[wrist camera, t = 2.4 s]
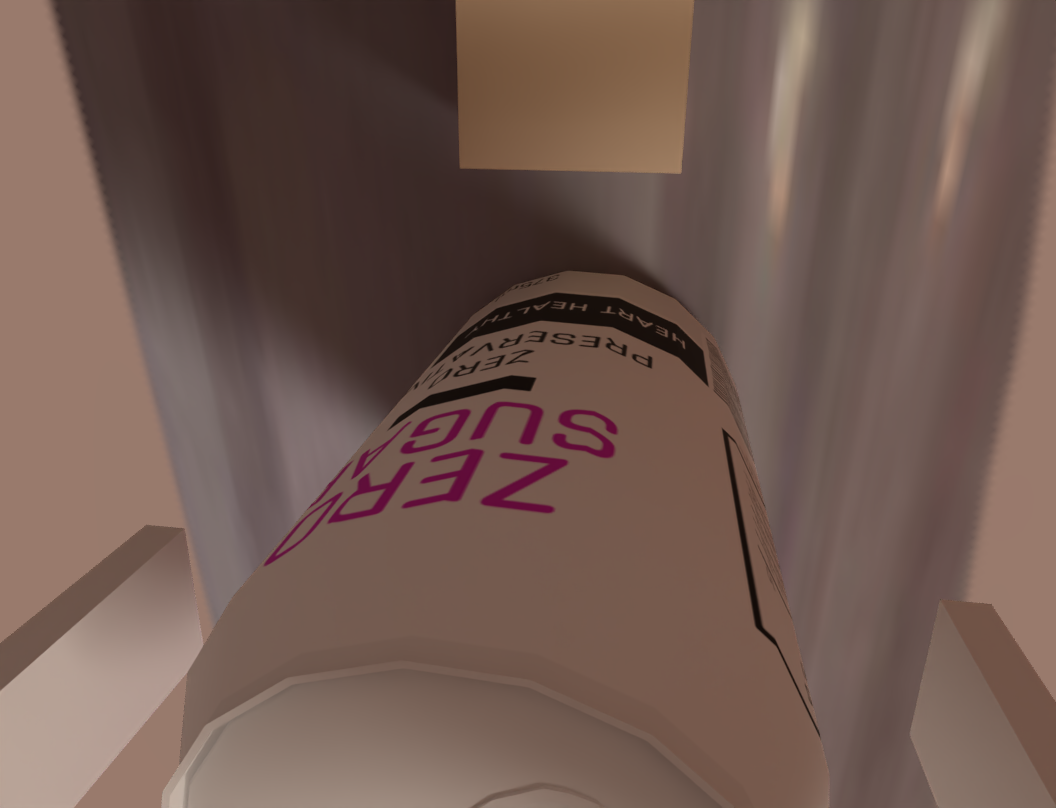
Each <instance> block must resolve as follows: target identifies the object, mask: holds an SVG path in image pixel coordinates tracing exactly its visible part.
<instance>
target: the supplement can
mask: <svg viewBox="0 0 1056 808" xmlns="http://www.w3.org/2000/svg"><path fill="white" fill-rule="evenodd" d="M183 717H184V718H183V727H182V738H181V750H180V761H179V762H180V763H179V767H178V769H177V770H176V772H175V773H174V775H173V776H172V778H171V780H170V781H169V783H168V784H167V786H166V787H165V789H164V790H163V793H162V808H829V771H828V767H827V763H826V759H825V755H824V750H823V746H822V742H821V738H820V734H819V730H818V725H817V721H816V717H815V713H814V709H813V705H812V700H811V696H810V692H809V688H808V684H807V680H806V675H805V671H804V667H803V663H802V659H801V655H800V650H799V646H798V642H797V638H796V634H795V630H794V625H793V621H792V617H791V613H790V609H789V605H788V600H787V596H786V592H785V588H784V584H783V580H782V575H781V571H780V567H779V563H778V559H777V555H776V551H775V546H774V542H773V538H772V534H771V530H770V526H769V521H768V517H767V513H766V509H765V505H764V501H763V496H762V492H761V488H760V484H759V480H758V476H757V471H756V467H755V463H754V459H753V455H752V451H751V446H750V442H749V438H748V434H747V430H746V426H745V421H744V417H743V413H742V409H741V405H740V401H739V396H738V392H737V388H736V385H735V383H734V381H733V378H732V376H731V374H730V372H729V369H728V367H727V365H726V362H725V360H724V358H723V356H722V353H721V351H720V349H719V347H718V344H717V342H716V340H715V338H714V337H713V336H712V335H711V334H710V333H709V332H708V331H707V330H706V329H705V328H704V327H703V326H702V325H701V324H700V323H699V322H698V321H697V320H696V319H695V318H694V317H693V316H692V315H691V314H690V313H689V312H688V311H687V310H686V309H685V308H684V307H683V306H682V305H681V304H680V303H679V302H678V301H677V300H676V299H674V298H672V297H670V296H668V295H666V294H664V293H661V292H659V291H657V290H655V289H653V288H650V287H648V286H646V285H644V284H642V283H640V282H637V281H635V280H633V279H631V278H629V277H626V276H624V275H614V274H602V273H590V272H579V271H564V272H560V273H557V274H553V275H549V276H546V277H542V278H538V279H535V280H531V281H527V282H524V283H520V284H516V285H514V286H512V287H511V288H510V289H508V290H507V291H506V292H504V293H503V294H501V295H500V296H499V297H497V298H496V299H494V300H493V301H492V302H490V303H489V304H488V305H486V306H485V307H483V308H482V309H481V310H479V311H478V312H476V313H475V314H474V315H472V317H471V318H470V319H469V320H468V321H467V322H466V324H465V325H464V326H463V327H462V328H461V329H460V331H459V332H458V333H457V334H456V335H455V336H454V338H453V339H452V340H451V341H450V342H449V344H448V345H447V346H446V347H445V348H444V349H443V351H442V352H441V353H440V354H439V355H438V356H437V358H436V359H435V360H434V361H433V362H432V364H431V365H430V366H429V367H428V368H427V369H426V371H425V372H424V373H423V374H422V375H421V376H420V378H419V379H418V380H417V381H416V382H415V383H414V385H413V386H412V387H411V388H410V389H409V391H408V392H407V393H406V394H405V395H404V396H403V398H402V399H401V400H400V401H399V402H398V403H397V405H396V406H395V407H394V408H393V409H392V411H391V412H390V413H389V414H388V415H387V416H386V418H385V419H384V420H383V421H382V422H381V423H380V425H379V426H378V427H377V428H376V429H375V430H374V432H373V433H372V434H371V435H370V436H369V438H368V439H367V440H366V441H365V442H364V443H363V445H362V446H361V447H360V448H359V449H358V450H357V452H356V453H355V454H354V455H353V456H352V458H351V459H350V460H349V461H348V462H347V463H346V465H345V466H344V467H343V468H342V469H341V470H340V472H339V473H338V474H337V475H336V476H335V477H334V479H333V480H332V481H331V482H330V483H329V485H328V486H327V487H326V488H325V489H324V490H323V492H322V493H321V494H320V495H319V496H318V497H317V499H316V500H315V501H314V502H313V503H312V504H311V506H310V507H309V508H308V509H307V510H306V512H305V513H304V514H303V515H302V516H301V517H300V519H299V520H298V521H297V522H296V523H295V524H294V526H293V527H292V528H291V529H290V530H289V532H288V533H287V534H286V535H285V536H284V537H283V539H282V540H281V541H280V542H279V543H278V544H277V546H276V547H275V548H274V549H273V550H272V551H271V553H270V554H269V555H268V556H267V557H266V559H265V560H264V561H263V562H262V563H261V564H260V566H259V567H258V568H257V569H256V570H255V571H254V573H253V574H252V575H251V576H250V577H249V579H248V580H247V581H246V582H245V583H244V584H243V586H242V587H241V588H240V589H239V590H238V591H237V593H236V594H235V595H234V596H233V597H232V599H231V601H230V602H229V604H228V606H227V607H226V609H225V611H224V612H223V614H222V616H221V617H220V619H219V621H218V622H217V624H216V626H215V627H214V629H213V631H212V632H211V634H210V636H209V637H208V639H207V641H206V643H205V644H204V646H203V647H202V649H201V651H200V652H199V654H198V656H197V657H196V659H195V661H194V662H193V664H192V666H191V667H190V669H189V671H188V672H187V683H186V694H185V705H184V716H183Z"/></svg>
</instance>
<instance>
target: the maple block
mask: <svg viewBox="0 0 1056 808" xmlns="http://www.w3.org/2000/svg"><path fill="white" fill-rule="evenodd" d="M693 8H694V0H456V35H457V77H458V119H459V161H460V168H461V169H506V170H551V171H597V172H642V173H681V169H682V155H683V142H684V128H685V115H686V102H687V88H688V75H689V62H690V48H691V35H692V21H693Z"/></svg>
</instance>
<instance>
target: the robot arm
mask: <svg viewBox="0 0 1056 808" xmlns="http://www.w3.org/2000/svg"><path fill="white" fill-rule="evenodd" d="M202 647H203V640H202V634H201V627H200V621H199V615H198V609H197V603H196V597H195V590H194V584H193V578H192V572H191V566H190V560H189V554H188V547H187V541H186V535H185V529H184V528H173V527H162V526H151V525H146V526H144V527H143V528H142V529H141V530H140V531H138V532H137V533H136V534H135V535H133V536H132V537H131V538H130V539H129V540H127V541H126V542H125V543H123V544H122V545H121V546H120V547H119V548H117V549H116V550H115V551H114V552H112V553H111V554H110V555H109V556H108V557H106V558H105V559H104V560H102V561H101V562H100V563H99V564H98V565H96V566H95V567H94V568H93V569H91V570H90V571H89V572H88V573H86V574H85V575H84V576H83V577H81V578H80V579H79V580H78V581H77V582H75V583H74V584H73V585H72V586H70V587H69V588H68V589H67V590H65V591H64V592H63V593H62V594H61V595H59V596H58V597H57V598H56V599H54V600H53V601H52V602H51V603H50V604H48V605H47V606H46V607H44V608H43V609H42V610H41V611H40V612H38V613H37V614H36V615H35V616H33V617H32V618H31V619H30V620H28V621H27V622H26V623H25V624H23V625H22V626H21V627H20V628H19V629H17V630H16V631H15V632H14V633H12V634H11V635H10V636H9V637H7V638H6V639H5V640H4V641H2V642H1V643H0V808H74V807H75V805H76V804H77V803H78V802H79V801H80V799H81V798H82V797H83V796H84V795H85V793H86V792H87V791H88V790H89V789H90V788H91V786H92V785H93V784H94V783H95V781H96V780H97V779H98V778H99V777H100V776H101V774H102V773H103V772H104V771H105V770H106V769H107V767H108V766H109V765H110V764H111V762H112V761H113V760H114V759H115V758H116V756H117V755H118V754H119V753H120V752H121V750H123V748H124V747H125V746H126V745H127V744H128V742H129V741H130V740H131V739H132V738H133V736H134V735H135V734H136V733H137V732H138V730H139V729H140V728H141V727H142V726H143V725H144V723H145V722H146V721H147V719H148V718H149V717H150V716H151V715H152V714H153V713H154V711H155V710H156V709H157V708H158V707H159V706H160V704H161V703H162V702H163V701H164V700H165V698H166V697H167V696H168V695H169V694H170V692H171V691H172V690H173V689H174V688H175V686H176V685H177V684H178V683H179V682H180V680H181V679H182V678H183V677H184V676H185V675H186V673H187V672H188V671H189V669H190V667H191V666H192V664H193V662H194V661H195V659H196V657H197V656H198V654H199V652H200V651H201V649H202ZM910 737H911V740H912V742H913V745H914V747H915V750H916V752H917V755H918V758H919V760H920V763H921V765H922V768H923V770H924V773H925V775H926V778H927V781H928V783H929V786H930V788H931V791H932V793H933V796H934V798H935V801H936V804H937V806H938V808H1056V702H1055V700H1054V699H1053V697H1052V696H1051V694H1050V693H1049V691H1048V690H1047V688H1046V686H1045V685H1044V684H1043V682H1042V681H1041V679H1040V678H1039V676H1038V674H1037V673H1036V671H1035V670H1034V668H1033V667H1032V665H1031V664H1030V662H1029V661H1028V659H1027V658H1026V656H1025V655H1024V653H1023V652H1022V650H1021V648H1020V647H1019V645H1018V644H1017V643H1016V641H1015V639H1014V638H1013V636H1012V635H1011V634H1010V632H1009V630H1008V629H1007V627H1006V626H1005V624H1004V623H1003V621H1002V620H1001V618H1000V617H999V615H998V614H997V612H996V611H995V609H994V607H993V606H992V604H984V603H973V602H963V601H952V600H941V599H940V603H939V607H938V611H937V616H936V620H935V625H934V629H933V634H932V638H931V642H930V647H929V651H928V656H927V660H926V665H925V669H924V673H923V678H922V682H921V687H920V691H919V695H918V700H917V704H916V709H915V713H914V718H913V722H912V726H911V731H910Z"/></svg>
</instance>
